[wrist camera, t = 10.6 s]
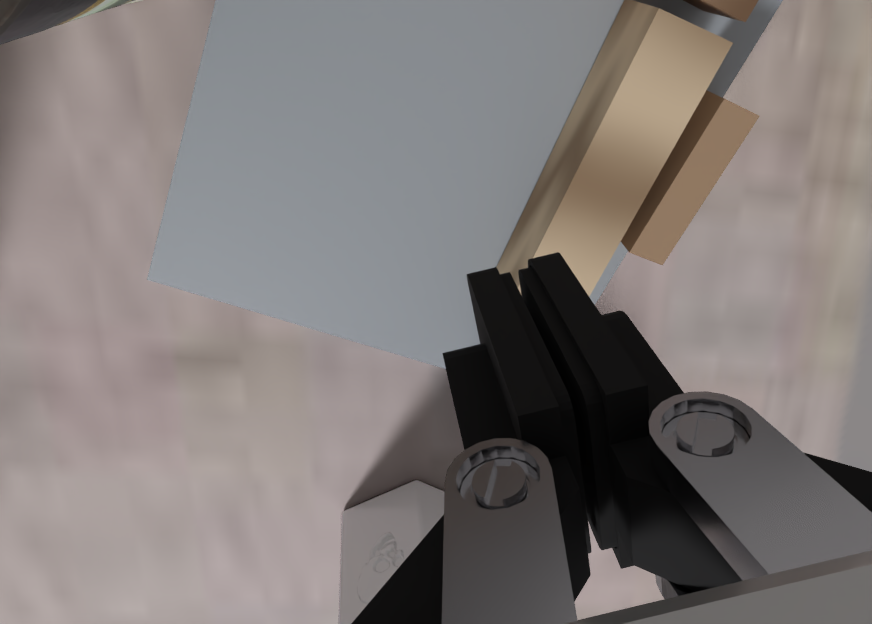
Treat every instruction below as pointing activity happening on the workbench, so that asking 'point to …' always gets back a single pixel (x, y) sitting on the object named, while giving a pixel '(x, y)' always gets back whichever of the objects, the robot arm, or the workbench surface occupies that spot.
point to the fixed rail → (726, 7)
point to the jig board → (403, 156)
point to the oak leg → (615, 140)
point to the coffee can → (45, 14)
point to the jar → (382, 541)
